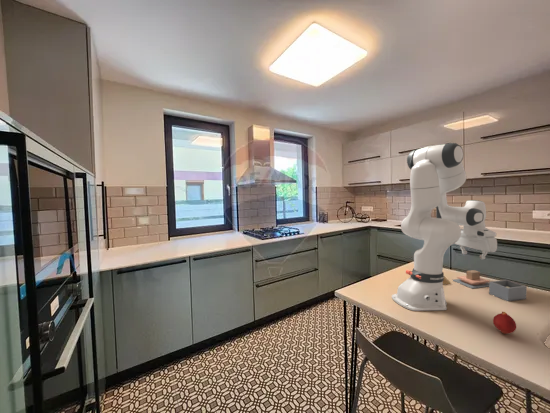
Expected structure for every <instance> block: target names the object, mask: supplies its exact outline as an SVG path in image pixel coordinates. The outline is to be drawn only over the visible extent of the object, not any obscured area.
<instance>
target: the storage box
mask: <svg viewBox="0 0 550 413" xmlns="http://www.w3.org/2000/svg"><path fill="white" fill-rule="evenodd" d="M488 283H489V287H488V294H489V295H491V296H493V295H494V297H497V298H499V299H501V300H503V301H506V302H514V301H521V300H527V289H528V287H527V285H524V284H521V283H517V282H514V281H511V280H508V279H502V280H501V279H500V280H494V281H493V280H492V281H490V282H488Z"/></svg>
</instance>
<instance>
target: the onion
mask: <svg viewBox="0 0 550 413" xmlns="http://www.w3.org/2000/svg"><path fill="white" fill-rule="evenodd" d="M492 322H493V325H494V327H495V328H496V329H497V330H498V331H499V332H501V333H502V334H504V335H508V334H509V335H510V334H512V333H514V332H515V331H516V329H517V323H516V320H514V318H512V316H511V315H509V314H508V313H507V312H506V311H501V313H497V314H495V316H493V318H492Z"/></svg>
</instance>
